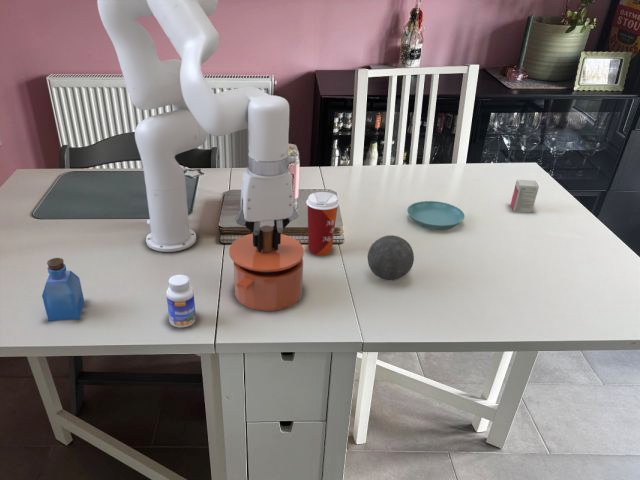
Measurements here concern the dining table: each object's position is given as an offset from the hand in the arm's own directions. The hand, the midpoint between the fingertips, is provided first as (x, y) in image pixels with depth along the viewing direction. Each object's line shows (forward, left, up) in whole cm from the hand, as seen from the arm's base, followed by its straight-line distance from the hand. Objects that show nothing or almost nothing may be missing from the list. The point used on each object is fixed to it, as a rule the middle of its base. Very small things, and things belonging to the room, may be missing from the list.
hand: (266, 247), depth 118 cm
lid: (0, 0, -1) cm, 1 cm away
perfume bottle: (-23, -36, -11) cm, 44 cm away
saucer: (+6, +56, -11) cm, 57 cm away
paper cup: (-4, +22, -11) cm, 25 cm away
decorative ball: (+15, +24, -11) cm, 30 cm away
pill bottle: (-3, -20, -11) cm, 23 cm away
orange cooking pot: (+1, 0, -11) cm, 11 cm away
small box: (+18, +80, -11) cm, 83 cm away
